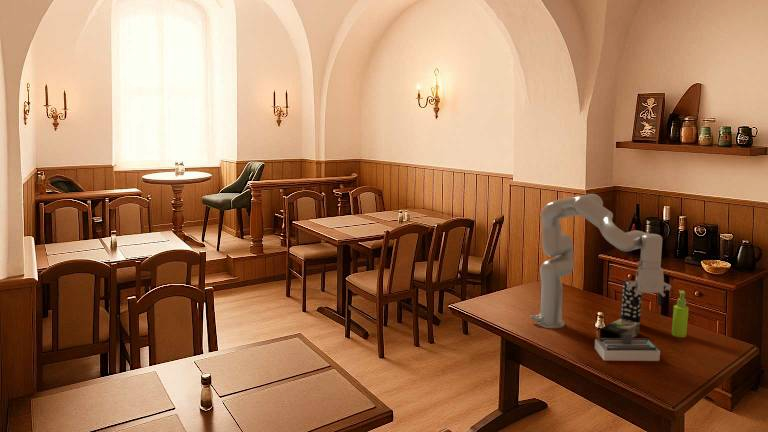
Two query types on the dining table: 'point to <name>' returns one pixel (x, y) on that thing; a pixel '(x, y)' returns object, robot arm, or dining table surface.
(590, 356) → the dining table surface
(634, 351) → the box
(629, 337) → the handle
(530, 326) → the dining table surface
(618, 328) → the juice carton
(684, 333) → the soap dispenser
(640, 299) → the spotted tube
